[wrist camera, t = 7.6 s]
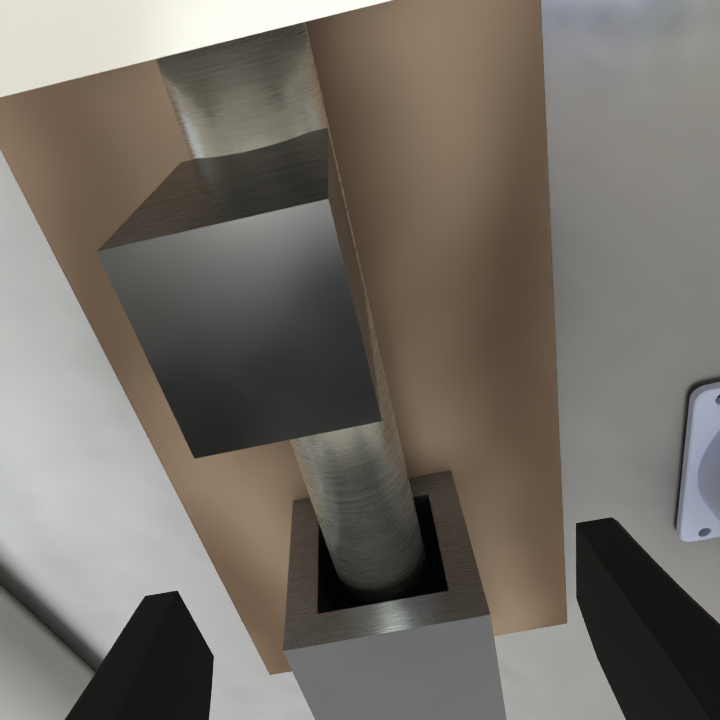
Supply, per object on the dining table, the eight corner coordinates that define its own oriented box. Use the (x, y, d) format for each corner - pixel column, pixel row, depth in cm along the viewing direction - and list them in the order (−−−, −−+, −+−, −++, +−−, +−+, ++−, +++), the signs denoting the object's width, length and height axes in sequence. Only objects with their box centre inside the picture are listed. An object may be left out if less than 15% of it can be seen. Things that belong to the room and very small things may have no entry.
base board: (505, -442, 11) (520, -479, 10) (559, 604, 28) (567, 623, 27) (-172, -242, 12) (-211, -262, 11) (271, 654, 28) (269, 675, 28)
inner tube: (266, -188, 11) (179, -473, 4) (421, 516, 21) (465, 749, 14) (104, -144, 11) (-203, -354, 5) (333, 533, 21) (336, 770, 14)
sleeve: (451, 470, 22) (490, 614, 16) (476, 618, 26) (513, 767, 21) (292, 500, 22) (282, 651, 17) (345, 641, 27) (350, 793, 21)
